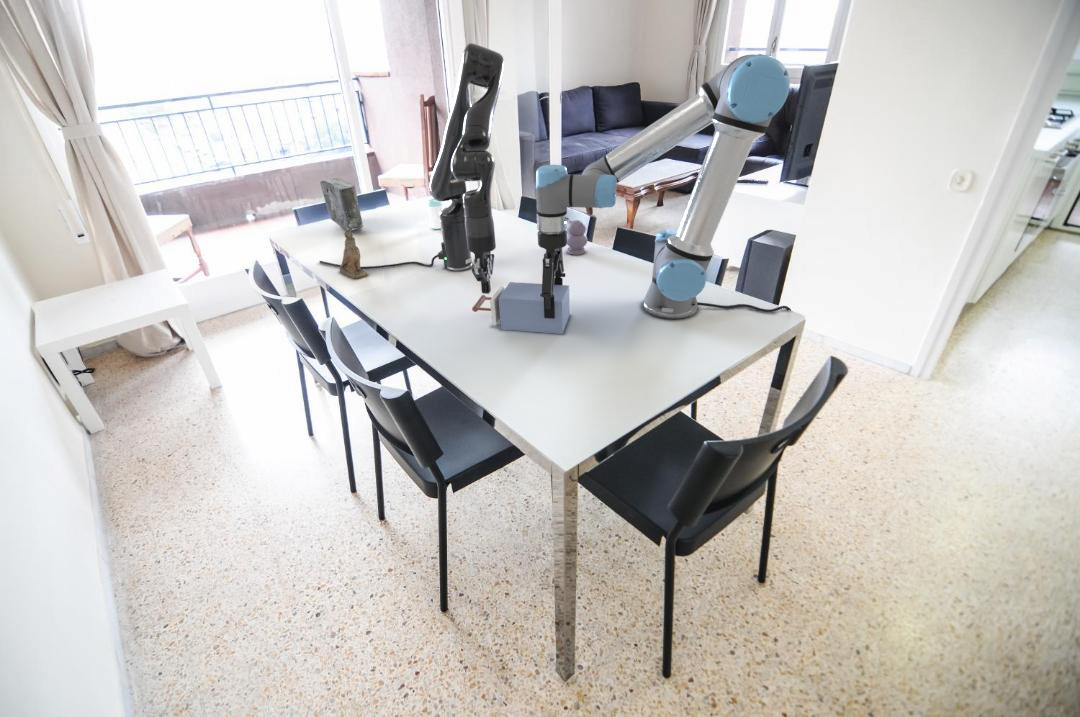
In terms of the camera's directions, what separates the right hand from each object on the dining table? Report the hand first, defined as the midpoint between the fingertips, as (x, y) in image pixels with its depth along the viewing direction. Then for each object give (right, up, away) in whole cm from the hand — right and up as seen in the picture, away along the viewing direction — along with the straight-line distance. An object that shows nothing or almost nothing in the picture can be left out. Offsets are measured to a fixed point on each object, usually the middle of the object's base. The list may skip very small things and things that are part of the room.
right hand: (553, 308), depth 138 cm
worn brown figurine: (-71, +17, +41) cm, 84 cm away
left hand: (-19, +5, +2) cm, 20 cm away
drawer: (-11, -2, +4) cm, 12 cm away
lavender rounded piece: (+10, +27, +52) cm, 59 cm away
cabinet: (-5, -4, +4) cm, 7 cm away
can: (-49, +45, +86) cm, 109 cm away
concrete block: (-91, +46, +90) cm, 136 cm away
